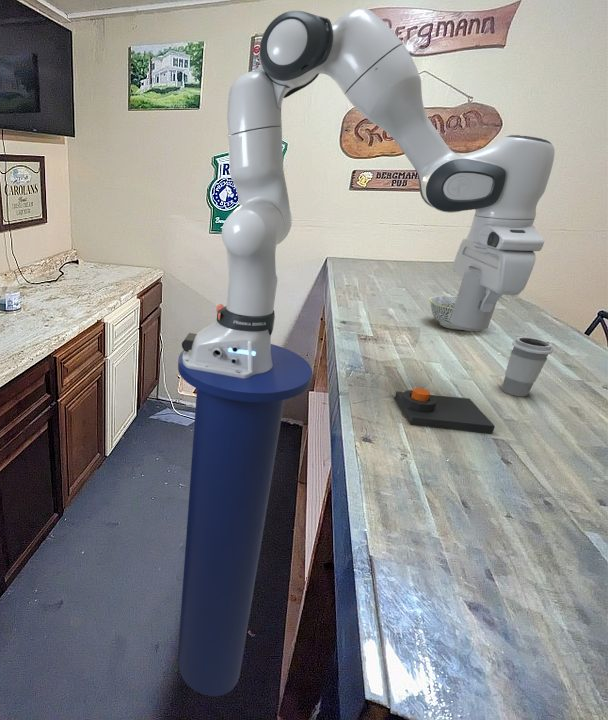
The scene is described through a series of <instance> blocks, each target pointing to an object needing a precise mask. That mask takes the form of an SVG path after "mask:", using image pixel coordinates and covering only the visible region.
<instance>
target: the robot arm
mask: <svg viewBox="0 0 608 720" xmlns="http://www.w3.org/2000/svg"><path fill="white" fill-rule="evenodd" d="M259 61H260V64H259V66H257V68H255V69H254V70H252V71H248V72H245V73H244V74H241V75H239V76H238V77H237V78H236V79H235V80H234V81H233V82H232V83H231V86H230V87H229V91H228V99H227V100H228V101H227V112H226V129H227V130H226V132H227V135H226V136H227V147H228V149H227V150H228V163H229V174H230V178H231V180H232V182H233V185H234V188H235V191H236V194H237V198H238V203H239V206H238V207H236V208H235V209H234V210H233V211H232V212H231V213H230V214H229V215H228V216H227V218H225V220H224V222H223V224H222V228H221V239H222V243H223V245H224V247H225V248H226V249H225V251H226V259H227V268H228V270H227V271H228V283H227V295H226V305H225V306H224V304H222V303H219V304H218V305H217V306H216V309H215V312H216V321H214V322H213V323H211V324H210V325H208V326H206V327H203V328H202V329H200V330H199V331H198V332H197V333H193V332H189V333H188V334H187V335H186V336H185V338H184V339H183V341H182V342H181V348H182V349H183V350H184V353H183V358H182V362H183V364H184V366H185V367H186V368H189V369H194V370H200V371H205V372H211V373H216V374H222V375H227V376H232V377H238V378H249V377H251V376H253V375H256V374H261V373H264V372H267V371H269V370H270V369H271V368H272V366H273V364H272V358H271V344H272V342H271V340H272V339H271V338H272V334H273V331H274V326H275V319H276V316H275V314H276V313H275V310H274V309H275V301H276V294H277V287H278V275H277V270H276V269H277V268H276V266H277V265H276V250H277V245H279V244H281V243H282V242H283V241H284V240H286V238H287V237H288V235H289V233H290V231H291V229H292V224H293V215H292V212H291V207H290V199H289V194H288V187H287V183H286V178H285V176H286V175H285V170H284V169H285V168H284V154H283V152H284V151H283V150H284V149H283V128H282V127H283V124H282V121H283V120H282V107H283V106H282V105H283V101H284V99H287V98H288V97H290V96H292V95H293V94H295V93H297V92H298V91H301V90H302V89H304V88H306V87H308V86H309V85H310V84H312V83H313V82H314V81H315V80H316V79H317V78H318V77H319V75H321V74H322V75H326V76H328V77H330V78H331V79H332V80H333V81H334V82H335V83H336V84H337V85H338V87H339V89H340V90H341V91H342V93H343V94H344V96H345V98H346V99H347V100H348V101H349V102H350V104H351V105H352V106H353V107H354V108H355V109H356V110H357V111H358V112H359V114H361V115H362V116H363V117H364V118H366V119H367V120H368V121H370V122H371V123H372V124H373V125H375V126H377V127H378V128H379V129H381V130H382V131H384V132H385V133H387V134H388V135H389V136H390V137H391V138H392V139H393V141H395V143H396V144H397V145H398V147H399V149H400V150H401V151H402V152H403V154H404V156H405V157H406V159H408V161H409V162H410V164H411V165H412V167H413V168H414V169H415V172H416V174H417V177H418V188H419V194H420V197H421V199H422V200H423V202H424V203H425V204H426V205H428V206H429V207H430V208H433V209H435V210H437V211H439V212H441V213H442V212H443V213H451V214H452V213H460V212H464V211H472V210H475V211H474V216H473V219H472V221H471V222H472V223H471V225H470V228H469V232H468V234H467V236H465V237H463V239H462V241H461V243H460V244H459V247H458V250H457V252H456V254H455V258H454V260H453V265H452V267H453V271H454V272H456V273H458V274H460V275H462V278H461V280H462V279H463V276H464V273H465V272H466V271H467V270H468V267H469V266H472V267H473V268H475V269H478V270H480V271H481V272H480V280H479V284H480V285H482V286H484V287H486V288H487V289H486V292H485V293H486V296H485V297H484V299H483V301H482V300H480V302H479V306H478V309H479V310H481V311H483V312H491V311H492V309H493V306H494V303H495V302H496V301H497V302H498V301H499V300H500V298H501V297H502V296H503V295H505V296H518V295H520V294H521V293H522V292H523V291H524V290H525V288H526V286H527V284H528V282H529V279H530V277H531V273H532V272H533V269H534V266H535V264H536V253H535V252H540V251H542V250H543V247H544V244H545V239H544V238H543V236H542V235H541V234H540V233H539V232H538V231H537V229H536V227H535V226H534V223H535V219H536V217H537V205H538V203H539V201H540V199H541V198H542V196H544V193H545V191H546V188H547V186H548V182H549V180H550V176H551V174H552V173H551V172H552V170H553V166H554V160H555V154H556V153H555V147H554V145H553V144H552V143H551V142H550V141H549V140H547V139H543V138H540V137H537V136H536V137H535V136H531V135H519V134H510V135H505V136H504V137H503V138H500V140H498V141H496V142H494V143H491V144H490V145H487V146H485V147H482V148H479V149H476V150H475V151H472V152H469V153H466V154H465V153H464V154H462V155H460V154H458V153H456V152H455V151H453V149H451V148H450V147H449V146H448V145H447V143H446V142H445V140H444V139H443V137H442V136H441V134H440V133H439V132H438V130H437V129H436V127H435V126H434V124H433V123H432V121H431V119H430V118H429V116H428V114H427V112H426V110H425V106H424V101H423V92H422V91H423V90H422V80H421V79H422V78H421V76H420V73H419V71H418V68H417V66H416V63H415V62H414V59H413V56H412V55H411V53H410V52H409V50H408V49H407V47H406V46H405V44H404V43H403V41H402V40H401V39H400V38H399V36H398V35H397V34H396V33H395V31H393V30H392V28H391V27H390V26H389V25H388V24H387V23H386V22H385V21H384V20H382V18H380V17H379V15H377V14H376V13H375V12H374V11H372V10H370V9H369V8H367V7H357V8H354V9H351V10H350V11H348V12H346V13H344V14H343V15H342V16H340V17H339V18H338V19H337V20H335V22H334V23H332V21H331V20H330V19H329V18H327V17H325V16H321V15H317V14H314V13H310V12H307V11H302V10H290V11H286V12H283V13H281V14H279V15H277V17H275V18H274V19H272V20H271V22H270V23H269V24H268V25H267V26H266V28H265V30H264V32H263V34H262V37H261V40H260V45H259Z"/></svg>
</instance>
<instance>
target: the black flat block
mask: <svg viewBox="0 0 608 720" xmlns="http://www.w3.org/2000/svg"><path fill="white" fill-rule="evenodd" d="M412 391H413V389H409V390H404V391H400V390H399V391H398V390H397V391H395V394H394V400H395V401H396V403H397V405H398V407H399V408H400V410H401V411H402V413H403V414H404V416H405V418H406V419H407V421H408V423H409V425H411V426H412V425H413V426H421V427H430V428H438V429H447V430H455V431H456V430H457V431H464V432H465V431H466V432H472V433H482V434H483V433H484V434H493V433H494V430H495V427H496V426H495V424H494V423H493V422H492V421H491V420H490V419H489V418H488V417H487V416H486V414H484V412H483V411H481V409H480V408H479V407H478V406H477V405H476V404H475V403H474V402H473V401H472V399H471V398H467V397H458V396H449V395H448V396H447V395H438V394H430V396H429V399H428V401H426V402H424V401H418V400H415V399H413V398H411V395H412Z"/></svg>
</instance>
